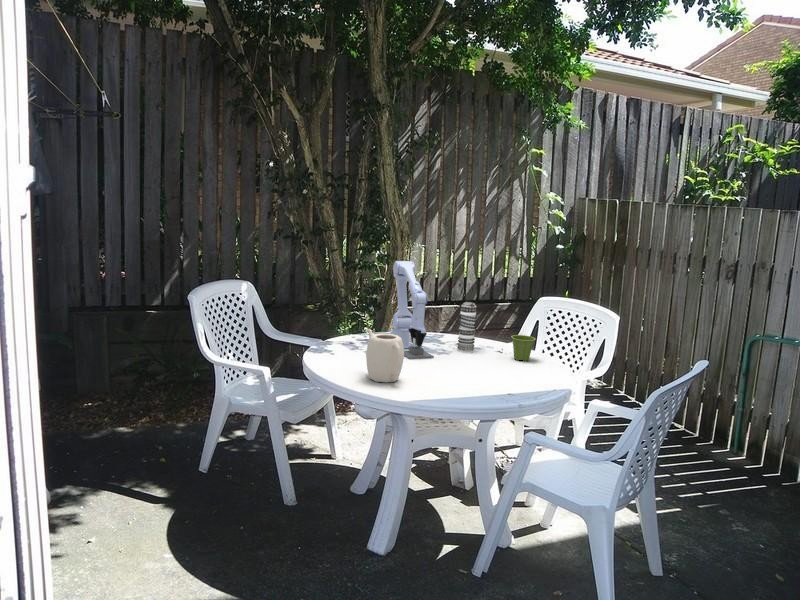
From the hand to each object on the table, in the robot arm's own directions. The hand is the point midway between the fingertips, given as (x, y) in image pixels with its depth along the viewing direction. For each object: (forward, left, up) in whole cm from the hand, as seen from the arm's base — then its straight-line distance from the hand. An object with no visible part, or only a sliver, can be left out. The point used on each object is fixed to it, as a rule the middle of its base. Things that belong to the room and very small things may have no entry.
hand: (416, 344), depth 342 cm
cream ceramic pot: (+20, -44, -6) cm, 49 cm away
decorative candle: (+8, +29, -6) cm, 31 cm away
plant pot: (+36, +38, -6) cm, 53 cm away
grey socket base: (0, 0, -5) cm, 5 cm away
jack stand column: (0, 0, -4) cm, 4 cm away
